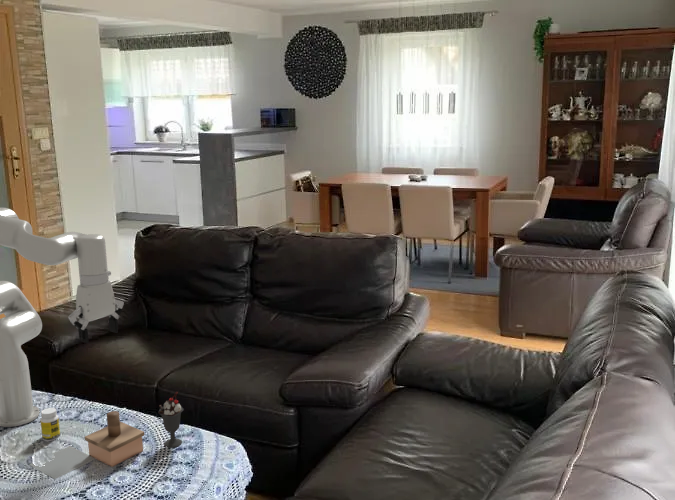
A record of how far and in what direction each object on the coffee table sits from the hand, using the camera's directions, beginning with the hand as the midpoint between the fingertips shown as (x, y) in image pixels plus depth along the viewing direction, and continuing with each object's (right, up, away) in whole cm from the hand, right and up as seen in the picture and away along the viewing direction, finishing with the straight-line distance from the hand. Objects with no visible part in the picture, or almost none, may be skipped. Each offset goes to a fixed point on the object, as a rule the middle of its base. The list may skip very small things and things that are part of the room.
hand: (99, 336), depth 192 cm
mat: (-5, -32, -13) cm, 35 cm away
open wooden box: (+8, -31, -9) cm, 33 cm away
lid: (+8, -26, -10) cm, 29 cm away
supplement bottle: (-14, -29, +1) cm, 32 cm away
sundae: (+22, -30, -3) cm, 37 cm away
